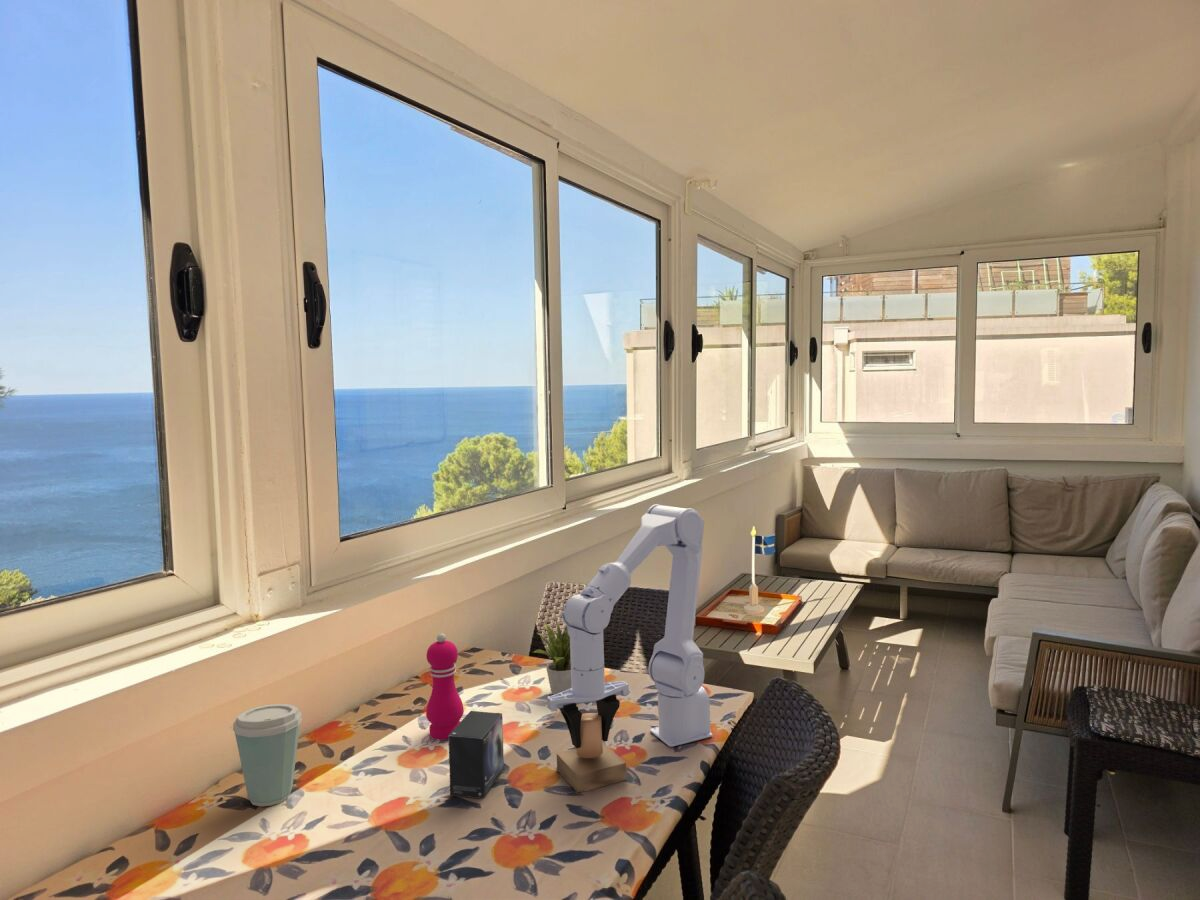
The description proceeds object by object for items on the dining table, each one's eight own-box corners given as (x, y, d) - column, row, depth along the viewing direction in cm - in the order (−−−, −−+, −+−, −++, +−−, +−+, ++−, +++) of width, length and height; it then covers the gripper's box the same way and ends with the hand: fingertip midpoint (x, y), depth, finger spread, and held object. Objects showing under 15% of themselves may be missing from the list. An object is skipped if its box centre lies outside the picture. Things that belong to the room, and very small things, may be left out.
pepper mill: (419, 738, 153) (414, 637, 151) (440, 723, 159) (436, 626, 158) (451, 743, 150) (446, 641, 148) (471, 728, 157) (467, 629, 155)
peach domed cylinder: (596, 744, 139) (595, 711, 139) (607, 754, 135) (605, 720, 135) (572, 749, 137) (570, 716, 137) (582, 760, 133) (580, 725, 133)
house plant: (596, 707, 165) (594, 631, 164) (530, 709, 165) (527, 633, 164) (597, 682, 179) (595, 611, 178) (536, 683, 179) (534, 613, 178)
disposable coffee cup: (238, 789, 135) (232, 704, 134) (305, 776, 139) (300, 693, 138) (236, 820, 125) (230, 728, 124) (308, 804, 129) (303, 715, 128)
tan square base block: (603, 758, 142) (602, 742, 142) (626, 779, 134) (625, 762, 134) (557, 769, 138) (556, 753, 138) (577, 792, 130) (577, 775, 130)
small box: (486, 800, 129) (483, 738, 128) (448, 797, 130) (445, 735, 130) (506, 769, 139) (504, 711, 139) (471, 766, 141) (469, 709, 140)
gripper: (615, 651, 141) (617, 724, 142) (539, 665, 135) (542, 742, 136) (633, 663, 135) (635, 739, 136) (554, 678, 129) (557, 759, 130)
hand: (590, 742), depth 136 cm, fingers closed on peach domed cylinder, 4 cm apart
